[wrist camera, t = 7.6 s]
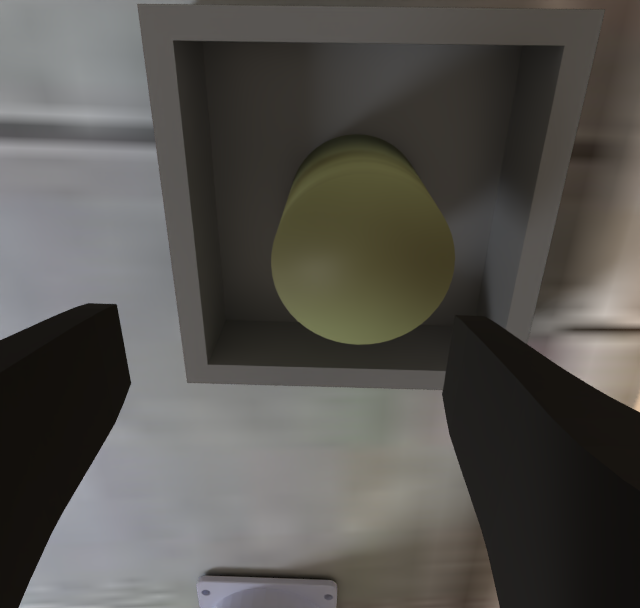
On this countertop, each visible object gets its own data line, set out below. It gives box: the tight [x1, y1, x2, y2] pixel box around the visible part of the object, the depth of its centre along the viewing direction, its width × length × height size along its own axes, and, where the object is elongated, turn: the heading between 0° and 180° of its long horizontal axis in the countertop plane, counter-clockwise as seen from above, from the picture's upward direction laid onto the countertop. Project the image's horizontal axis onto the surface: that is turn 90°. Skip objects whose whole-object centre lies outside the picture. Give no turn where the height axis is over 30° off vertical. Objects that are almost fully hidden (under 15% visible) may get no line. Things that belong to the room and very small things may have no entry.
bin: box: [137, 4, 605, 390], centre depth 17 cm, size 12×12×4 cm
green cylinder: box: [271, 134, 455, 345], centre depth 15 cm, size 5×5×6 cm
